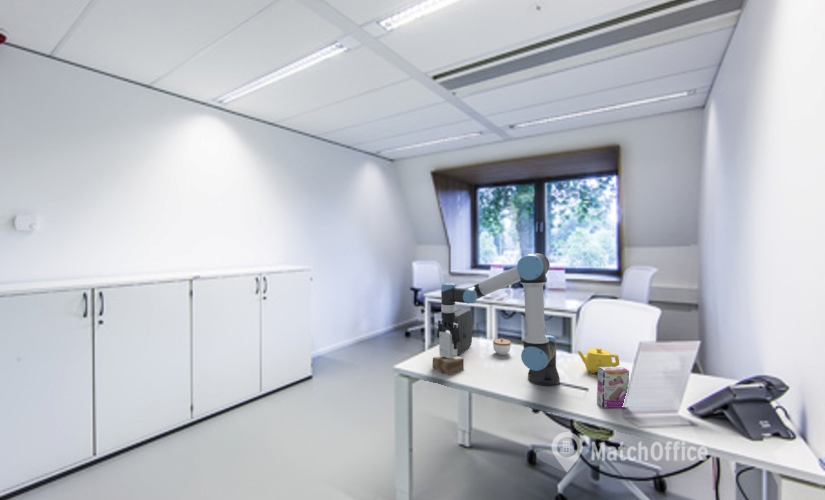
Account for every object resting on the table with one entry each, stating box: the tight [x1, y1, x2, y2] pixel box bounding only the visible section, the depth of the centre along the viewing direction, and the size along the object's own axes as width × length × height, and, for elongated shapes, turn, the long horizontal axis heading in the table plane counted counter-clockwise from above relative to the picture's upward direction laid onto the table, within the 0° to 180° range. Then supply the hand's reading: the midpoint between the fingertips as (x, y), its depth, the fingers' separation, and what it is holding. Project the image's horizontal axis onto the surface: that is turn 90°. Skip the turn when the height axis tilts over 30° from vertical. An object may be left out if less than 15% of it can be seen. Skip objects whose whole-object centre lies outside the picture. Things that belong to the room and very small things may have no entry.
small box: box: [438, 330, 458, 359], centre depth 192 cm, size 8×6×13 cm
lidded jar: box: [492, 338, 512, 356], centre depth 218 cm, size 11×11×9 cm
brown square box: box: [432, 355, 465, 376], centre depth 193 cm, size 12×12×6 cm
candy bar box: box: [596, 366, 630, 409], centre depth 150 cm, size 11×5×16 cm, turn 92°
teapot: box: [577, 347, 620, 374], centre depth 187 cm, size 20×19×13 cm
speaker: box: [447, 309, 473, 356], centre depth 224 cm, size 25×9×25 cm, turn 149°
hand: (448, 352), depth 193 cm, fingers closed on small box, 8 cm apart
